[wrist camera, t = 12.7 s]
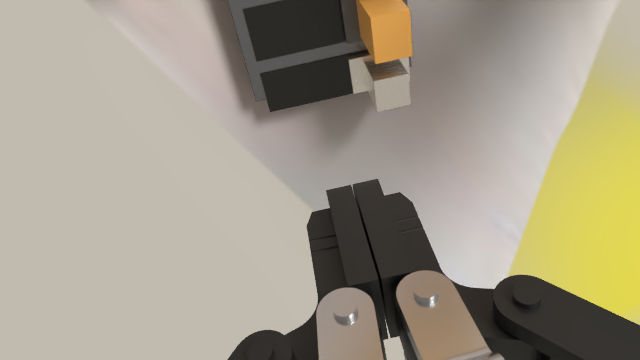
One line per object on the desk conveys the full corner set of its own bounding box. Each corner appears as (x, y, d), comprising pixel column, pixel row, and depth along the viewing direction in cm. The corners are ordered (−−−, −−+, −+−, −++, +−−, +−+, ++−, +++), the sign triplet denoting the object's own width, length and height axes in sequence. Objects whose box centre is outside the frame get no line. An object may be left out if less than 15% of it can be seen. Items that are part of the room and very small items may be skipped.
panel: (392, -101, 33) (420, -84, 28) (404, 68, 41) (429, 105, 36) (213, -62, 33) (210, -37, 28) (258, 101, 40) (262, 142, 36)
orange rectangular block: (402, -24, 34) (426, 0, 30) (406, 28, 36) (428, 56, 32) (338, -10, 34) (353, 16, 30) (346, 41, 36) (360, 72, 32)
